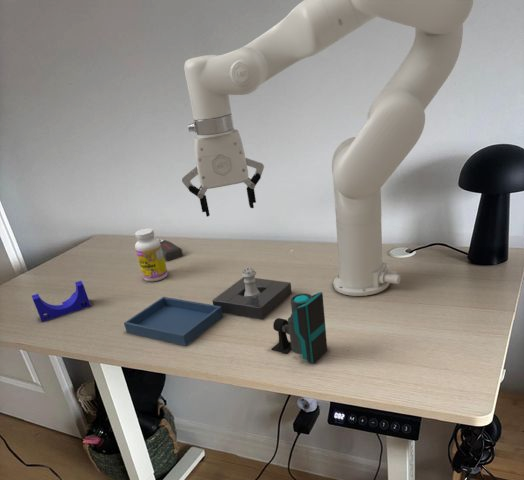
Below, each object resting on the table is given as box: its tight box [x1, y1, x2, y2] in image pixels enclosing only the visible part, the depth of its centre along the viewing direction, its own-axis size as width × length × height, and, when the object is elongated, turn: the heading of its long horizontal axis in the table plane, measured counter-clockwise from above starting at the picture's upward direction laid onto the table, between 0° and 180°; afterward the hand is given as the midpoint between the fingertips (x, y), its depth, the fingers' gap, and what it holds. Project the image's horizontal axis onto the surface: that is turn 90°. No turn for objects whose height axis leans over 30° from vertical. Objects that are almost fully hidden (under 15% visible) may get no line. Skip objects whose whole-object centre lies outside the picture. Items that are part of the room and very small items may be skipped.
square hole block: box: [211, 276, 293, 320], centre depth 118 cm, size 13×13×3 cm
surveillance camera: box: [271, 291, 328, 364], centre depth 95 cm, size 6×12×10 cm
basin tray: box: [123, 296, 224, 347], centre depth 115 cm, size 17×13×2 cm
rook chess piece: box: [241, 267, 260, 298], centre depth 117 cm, size 4×4×8 cm
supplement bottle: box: [134, 227, 168, 282], centre depth 137 cm, size 7×7×13 cm
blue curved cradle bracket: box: [31, 280, 92, 323], centre depth 129 cm, size 12×4×6 cm, turn 117°
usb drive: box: [160, 239, 184, 262], centre depth 155 cm, size 5×12×3 cm, turn 30°
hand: (229, 210), depth 113 cm, fingers open, 9 cm apart
